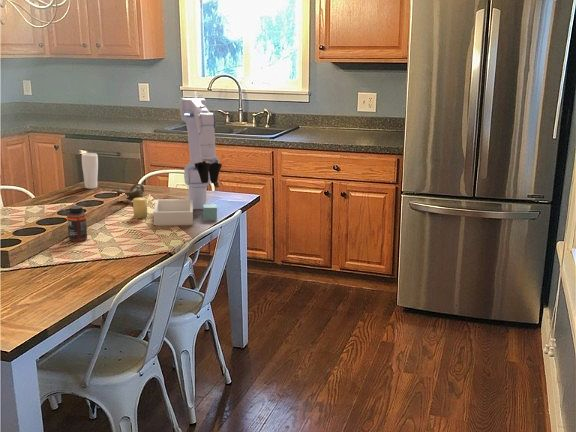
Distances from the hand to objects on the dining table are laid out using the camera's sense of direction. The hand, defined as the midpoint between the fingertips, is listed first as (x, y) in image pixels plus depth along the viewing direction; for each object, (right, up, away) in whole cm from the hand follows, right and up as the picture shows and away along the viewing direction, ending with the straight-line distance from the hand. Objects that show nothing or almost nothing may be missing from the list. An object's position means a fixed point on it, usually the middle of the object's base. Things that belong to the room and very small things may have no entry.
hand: (209, 183), depth 228 cm
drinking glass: (-58, 0, +47) cm, 75 cm away
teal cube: (-1, -13, +10) cm, 16 cm away
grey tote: (-14, -13, +7) cm, 21 cm away
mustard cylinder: (-27, -13, +7) cm, 31 cm away
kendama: (-36, -6, +31) cm, 48 cm away
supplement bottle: (-41, -20, -20) cm, 50 cm away
